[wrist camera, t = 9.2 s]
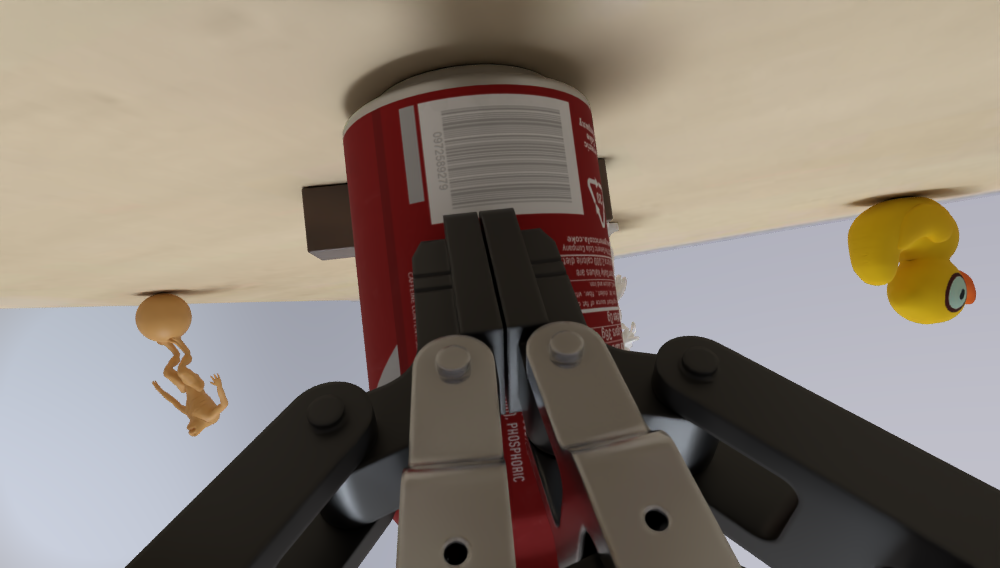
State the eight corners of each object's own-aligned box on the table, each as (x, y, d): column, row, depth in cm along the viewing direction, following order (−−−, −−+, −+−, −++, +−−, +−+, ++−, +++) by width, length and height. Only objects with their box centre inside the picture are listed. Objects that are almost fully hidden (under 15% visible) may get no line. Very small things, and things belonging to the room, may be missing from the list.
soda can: (382, 26, 12) (453, 649, 11) (640, 63, 15) (710, 544, 14) (316, 140, 18) (358, 549, 17) (510, 149, 21) (555, 492, 20)
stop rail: (315, 202, 25) (321, 260, 25) (301, 188, 23) (307, 252, 22) (590, 175, 26) (597, 230, 26) (604, 158, 24) (613, 219, 24)
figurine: (170, 286, 45) (183, 446, 44) (238, 286, 50) (251, 429, 49) (107, 300, 48) (118, 447, 47) (177, 299, 54) (188, 431, 53)
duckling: (989, 186, 46) (1013, 314, 45) (920, 203, 51) (941, 318, 50) (884, 192, 42) (909, 332, 41) (821, 209, 47) (842, 334, 46)
